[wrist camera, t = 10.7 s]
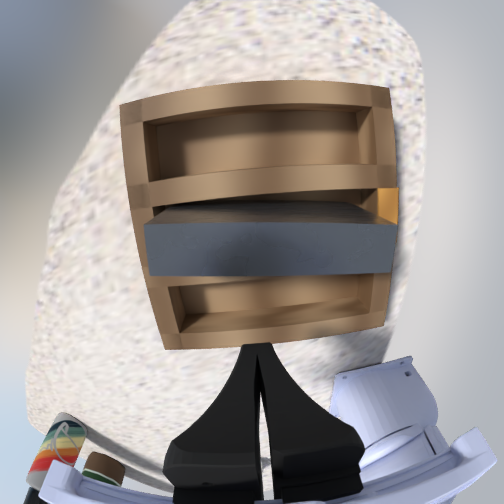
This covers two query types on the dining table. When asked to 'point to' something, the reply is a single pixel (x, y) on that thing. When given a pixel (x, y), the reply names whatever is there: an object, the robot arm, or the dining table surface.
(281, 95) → the rack
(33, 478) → the lotion bottle
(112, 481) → the beer bottle
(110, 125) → the dining table surface
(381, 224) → the panel
